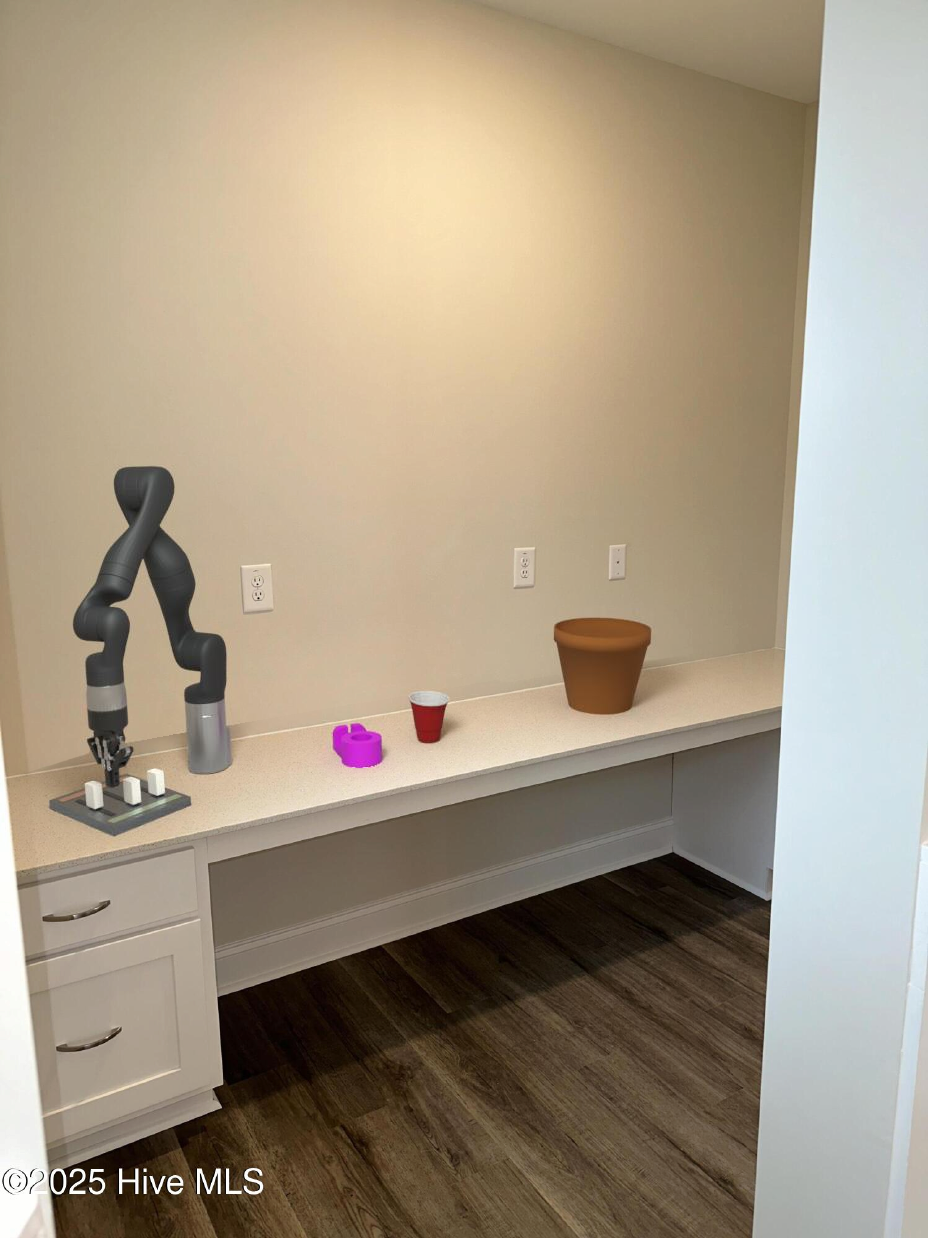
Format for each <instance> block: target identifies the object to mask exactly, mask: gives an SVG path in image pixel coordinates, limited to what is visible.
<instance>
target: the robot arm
mask: <svg viewBox="0 0 928 1238" xmlns="http://www.w3.org/2000/svg"><path fill="white" fill-rule="evenodd" d="M113 489H114V490H113V491H114V495H115V498H116V501H117V503H118V506H119V508H120V510H121V512H122V514H123V516H124V518H125V520H126V523H127V524H128V527H127V529H126V530H125V531H124V532H122V534H121V535H120V536H119V537H118V538H117V539H116V541H114V543H112V545H111V546H110V547H109V549H108V550H107V552H106V553H105V555H104V558H103V560H102V563H101V566H100V569H99V571H98V575H97V577H96V581H95V582H94V584H93V586H92V587H91V588H90V589H89V591H88V592H87V594H86V595H85V596H84V598H83V600H82V601H81V602H80V604H79V605H78V607H77V609H76V610H75V613H74V615H73V619H72V628H73V629H72V630H73V632H74V634H75V635H76V637H77V638H78V639H80V640H82V641H86V642H99V643H103V644H104V645H103V649H102V651H98V652H94V653H91V654H89V655H88V656H86V658H85V665H84V666H85V678H86V692H85V693H86V694H85V698H86V710H87V711H86V712H87V723H88V724H87V725H88V729H90V731H93V736H92V737H89V738H87V739H86V743H87V745H88V746H89V749H90V751H91V753H92V755H93V757H94V759H95V762H96V764H98V766H99V765H101V768H102V769H103V770H104V777H105V779H104V781H106V786H107V787H110V788H114V787H116V786H119V784H120V779H119V776H120V769H122V768H126V766H127V764H128V762H129V761H130V759H131V756H132V754H133V752H134V747H133V746H132V745H130V746H128V745H127V743H126V735H125V731H124V730H125V728H126V727H128V725H129V714H128V698H127V689H126V686H125V685H126V684H125V673H124V657H125V653H126V648H127V644H128V640H129V635H130V629H131V623H130V622H131V621H130V619H129V616H128V614H127V613H126V611H125V610H124V609H122V608H121V607H117V606H111V605H113V604H117V603H120V602H123V601H127V600H128V599H129V598H130V596H131V594H132V592H133V589H134V587H135V582H136V579H137V577H138V573H139V570H140V567H141V564H142V561H143V562H144V565H145V568H146V571H147V574H148V575H147V576H148V577H149V581H150V584H151V586H152V588H153V591H154V593H155V596H156V598H157V600H158V604H159V607H160V611H161V613H162V614H161V615H162V616H163V620H164V623H165V627H166V631H167V635H168V639H169V644H170V647H171V652H172V656H173V659H174V661H175V663H176V664H177V665H178V667H180V668H181V669H183V670H186V671H191V672H200V677H199V678H200V679H199V682H196V683H193V684H190V685H188V686H186V687H185V689H184V690H183V691H184V693H183V698H184V709H185V726H186V742H187V743H186V744H187V759H188V770H189V772H191V773H193V774H201V775H203V774H205V775H207V774H208V775H209V774H215V773H218V772H221V771H224V770H226V769H227V768H228V767H229V766H231V765H232V764H233V763H232V760H233V759H232V746H231V730H230V729H231V728H230V727H229V726H228V725H227V714H226V699H225V694H226V693H225V691H226V686H227V678H228V677H227V675H228V674H227V663H228V662H227V661H228V659H227V657H228V656H227V653H228V652H227V646H226V643H225V640H224V638H223V637H222V635H220V634H217V633H212V632H211V633H209V632H202V631H196V630H195V628H194V626H193V624H192V620H191V618H190V617H191V616H190V607H191V603H192V601H193V597H194V594H195V591H196V586H197V584H196V578H195V574H194V571H193V568H192V566H191V563H190V559H189V558H188V555H187V554H186V552H185V551H184V550H183V548H182V547H181V546H180V545H179V544H178V543H177V542H176V541H175V540H174V539H173V538H172V536H170V535H169V534H168V533H167V532H166V531H165V530H164V529H163V528H162V527H161V524H162V522H163V520H164V519H165V516H166V514H167V512H168V511H169V509H170V506H171V504H172V502H173V499H174V495H175V481H174V478H173V475H172V474H171V472H170V471H169V470H168V469H167V468H166V467H164V466H157V465H155V466H154V465H149V466H146V465H145V466H144V465H143V466H125V467H121V468H119V469H118V470H117V471H116V473H115V475H114V478H113Z"/></svg>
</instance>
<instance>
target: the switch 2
mask: <svg viewBox="0 0 928 1238" xmlns="http://www.w3.org/2000/svg"><path fill="white" fill-rule="evenodd" d="M146 773H147V774H146V776H147V781H148V791H149V793H151V794H154V795H157V796H158V795H160V794H163V793H165V788H166V787H165V776H164V775H165V774H164V770H161V769H158V768H152V769H149V770H147V771H146Z"/></svg>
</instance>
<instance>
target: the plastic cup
mask: <svg viewBox="0 0 928 1238" xmlns="http://www.w3.org/2000/svg"><path fill="white" fill-rule="evenodd" d="M450 699H451V698H450V696H449V695H448V694H446V693H444V692H439V691H437V690H436V691H435V690H418V691H413V692H411V693H410V694H409V695H408V701H409V702H410V706H411V707H410V708H411V710H412V711H411V712H412V716H413V717H412V718H413V722H414V728H415V733H416V738H417V740H418V741H419V743H424V744H434V743H437V742H439V741H440V738H441V734H442V728H443V724H444V719H445V713H446V708H447V705H448V703H449V702H450Z"/></svg>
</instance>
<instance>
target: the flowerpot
mask: <svg viewBox="0 0 928 1238" xmlns="http://www.w3.org/2000/svg"><path fill="white" fill-rule="evenodd" d="M651 640H652V628H651V627H650V626H649V625H647V624H645V623H642V622H639V621H634V620H629V619H625V618H624V619H621V618H612V617H579V618H569V619H564V620H560V621H558V622H556V623H555V624H554V626H553V641H554V642H555V643H556V648H557V652H558V658H559V662H560V663H559V664H560V667H561V675H562V678H563V682H564V688H565V694H566V697H567V698H566V699H567V704H568V707H570V708H571V709H572V710H575V711H577V712H581V713H585V714H590V715H607V716H608V715H616V714H617V715H619V714H621V713H622V714H623V713H625V712H628V711H629V710H631V708H632V706H633V702H634V699H635V698H634V697H635V694H636V692H637V687H638V683H639V680H640V677H641V672H642V670H643V666H644V661H645V659H646V654H647V652H648V651H647V649H648V647H649V646H650V645H651V644H652V643H651V642H652V641H651Z"/></svg>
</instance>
